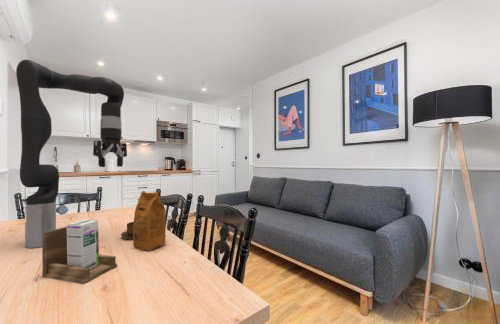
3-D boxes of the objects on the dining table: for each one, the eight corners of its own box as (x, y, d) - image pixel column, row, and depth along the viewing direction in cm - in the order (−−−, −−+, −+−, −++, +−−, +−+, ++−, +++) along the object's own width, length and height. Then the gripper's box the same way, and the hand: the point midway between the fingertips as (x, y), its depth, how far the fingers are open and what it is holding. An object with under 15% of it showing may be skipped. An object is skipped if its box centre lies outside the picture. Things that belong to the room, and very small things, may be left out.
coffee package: (151, 239, 100) (151, 189, 100) (169, 245, 92) (168, 191, 92) (128, 246, 91) (128, 191, 92) (145, 253, 84) (145, 194, 84)
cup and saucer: (155, 235, 106) (155, 222, 106) (130, 242, 96) (130, 228, 96) (140, 231, 112) (140, 218, 112) (115, 238, 102) (115, 224, 102)
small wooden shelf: (42, 276, 67) (42, 232, 67) (79, 261, 78) (79, 223, 78) (83, 284, 63) (83, 237, 63) (116, 266, 73) (116, 226, 73)
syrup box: (82, 273, 66) (82, 224, 66) (66, 272, 68) (66, 223, 68) (99, 265, 72) (99, 219, 72) (84, 263, 73) (84, 218, 73)
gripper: (118, 130, 103) (118, 166, 103) (87, 125, 89) (88, 167, 89) (131, 130, 101) (131, 166, 101) (102, 124, 87) (103, 167, 87)
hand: (111, 166), depth 95 cm, fingers open, 8 cm apart
